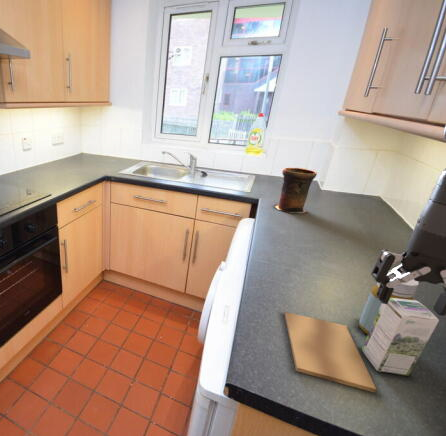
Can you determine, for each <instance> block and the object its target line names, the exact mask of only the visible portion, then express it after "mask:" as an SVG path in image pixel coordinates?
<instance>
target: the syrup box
mask: <svg viewBox="0 0 446 436" xmlns="http://www.w3.org/2000/svg"><path fill="white" fill-rule="evenodd" d="M439 322H440V319H439V318H438V317H437V316H436V315H435V314H434V313H433V312H432V311H431V310H430V309H428V307H426V306H425V305H423V304H422V303H421V302H420V301H418V300H415V299H413V300H406V299H397V298H390V299H389V302H388V304H383V303H382V305H381V307H380V309H379V311H378V314H377V316H376V318H375V320H374V323H373V325H372V327H371V329H370V332H369V334H367V336H366V339H365V341H364V342H363V345H362V347H361V352H362V353H363V354H364V356H365V358H367V360H368V361H369V362H370V364H371V365H372V367H374V369H375V371H376V372H379V373H387V374H393V375H401V376H409V375H410V374H411V372H412V370H413V369H414V366H415V365H416V363H417V361H418V359H419V357H420V356H421V355H422V352H423V351H424V349H425V347H426V345H427V343H428V342H429V339H430V338H431V336H432V334H433V333H434V331H435V329H436V327H437V325H438V323H439Z"/></svg>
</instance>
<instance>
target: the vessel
mask: <svg viewBox="0 0 446 436" xmlns="http://www.w3.org/2000/svg"><path fill="white" fill-rule="evenodd" d="M281 173H282V176H283V182H282V186H281V190H280V191H281V192H280V196H279V200H278V201H279V202H278V204H277V205H275V209H277V210H280V211H283V212H285V213H292V214H304V213H306V212H308V211H307V210H306V209H304V207H305V204H306V202H307V199H308V194H309V191H310V187H311V185H312V183H313V180H314V179H315V178H316V177H317V176H318V175H317V174H318V173H317V171H315V170H312V169H307V168H301V167H284V168H283V169H282V172H281Z"/></svg>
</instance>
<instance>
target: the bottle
mask: <svg viewBox="0 0 446 436" xmlns="http://www.w3.org/2000/svg"><path fill="white" fill-rule="evenodd" d="M391 271H392V269H390V270H389V272H388V273H390V272H391ZM404 274H405V272H403V273H402V275H404ZM419 282H420V281H415V280H414V279H413V280H411V281H409V282H407V283H401V284H399V285H397V286H395V287H393V288H394V290H393V293H392V295H391V297H390V298H397V299H406V300H414V295H415V293H416V291H417V289H418V287H419V284H420V283H419ZM379 286H380V283H378V282H376V284H375V285H374V286H373V287H372V289H371V290H370V293H369V295H368V298H367V300H366V304H365V306H364V308H363V311H362V313H361V316H360V318H359V321H358V325H359V327H360V329H361V331H363V332H364V333H365V334H366V335H368V334H369V332H370V329H371V327H372V325H373V323H374V320H375V318H376V316H377V314H378V311H379V309H380V307H381V305H382V303H381V302H380V300H379V298H378V297H377V295H376V293H377V291H378V288H379Z"/></svg>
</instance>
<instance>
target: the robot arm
mask: <svg viewBox="0 0 446 436" xmlns="http://www.w3.org/2000/svg"><path fill="white" fill-rule="evenodd" d="M443 139H444V141H445V142H446V125H444V129H443ZM398 262H400V264H399V265H398V266H395V265H396V264H397V263H398ZM392 266H395V267H394V268H392ZM391 268H392V269H391ZM389 270H392V271H391V272H390V273H388V272H389ZM402 273H404V275H402ZM370 275H371V277H372V278H373V279H374V280H375V281H376V283H377V282H378V283H380V286H379V288H378V291H377V293H376V295H377V297H378V298H379V300H380V302H381V303H383V304H388V302H389V299H390V297H391V295H392V293H393V290H394V288H393V287H395V286H397V285H399V284H401V283H407V282H409V281H411V280H413V279H414V280H415V281H418V282H421V283H422V282H423V283H424V282H426V283H429V284H433V285H438V284H439V285H440V286H441V288H442V290H443V292H440V294H439V296H438V297H437V300H436V301H435V303H434V305H433V308H432V309H433V311H434V313H436V314H437V315H438V316H442V317H445V316H446V168H444V169H443V170H442V171H441V172H440V175H439V176H438V178H437V180H436V182H435V185H434V186H433V189H432V191H431V194H430V196H429V198H428V201H427V202H426V204H425V206H424V207H423V208H422V210H421V211H420V214H419V217H418V218H417V220H416V223H415V226H414V227H413V231H412V233H411V235H410V238H409V239H408V242H407V246H406V250H405V251H404V252H403V253H401V254H400V253H396V252H391V251H390V250H389V249H387V248H385V249H383V250H381V252H380V254H379V256H378V258H377V260H376V262H375V264H374V266H373V268H372V270H371V272H370Z"/></svg>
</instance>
